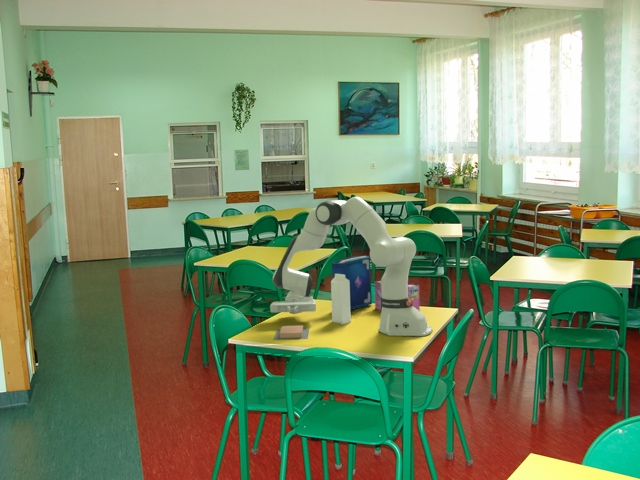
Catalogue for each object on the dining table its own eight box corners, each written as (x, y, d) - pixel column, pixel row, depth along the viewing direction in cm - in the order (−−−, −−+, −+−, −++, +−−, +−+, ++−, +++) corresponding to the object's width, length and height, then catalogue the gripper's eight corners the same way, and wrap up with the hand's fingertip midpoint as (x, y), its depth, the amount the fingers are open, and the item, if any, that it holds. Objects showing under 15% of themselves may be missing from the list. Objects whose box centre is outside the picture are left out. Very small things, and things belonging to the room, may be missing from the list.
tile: (282, 326, 276) (279, 333, 265) (303, 325, 276) (301, 332, 264) (282, 331, 277) (279, 338, 265) (303, 330, 276) (301, 338, 265)
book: (341, 313, 309) (340, 261, 306) (331, 311, 314) (329, 260, 312) (372, 305, 324) (371, 255, 321) (362, 303, 329) (361, 254, 326)
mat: (277, 330, 281) (277, 329, 281) (309, 329, 280) (309, 328, 280) (273, 341, 264) (273, 339, 264) (307, 340, 263) (307, 338, 263)
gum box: (372, 308, 318) (371, 281, 316) (384, 305, 322) (383, 278, 321) (408, 315, 299) (408, 286, 298) (420, 312, 304) (419, 284, 303)
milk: (342, 324, 287) (340, 275, 284) (332, 322, 291) (330, 274, 288) (351, 321, 291) (349, 273, 289) (340, 320, 295) (338, 272, 293)
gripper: (271, 297, 294) (268, 304, 281) (316, 296, 294) (315, 302, 280) (271, 311, 295) (268, 318, 281) (316, 310, 295) (315, 317, 281)
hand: (292, 310), depth 281 cm, fingers closed
